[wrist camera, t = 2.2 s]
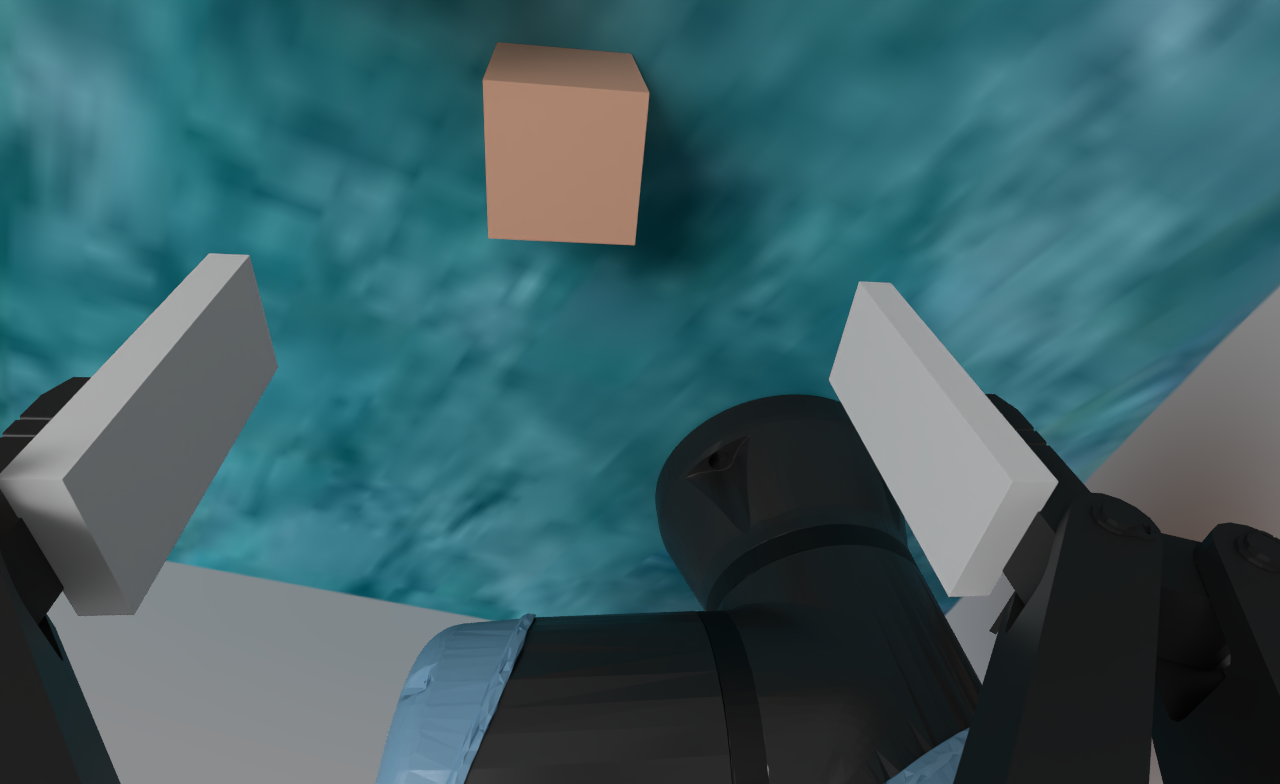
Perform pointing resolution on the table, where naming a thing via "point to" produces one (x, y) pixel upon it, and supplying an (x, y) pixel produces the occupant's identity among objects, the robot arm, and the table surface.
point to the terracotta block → (563, 144)
